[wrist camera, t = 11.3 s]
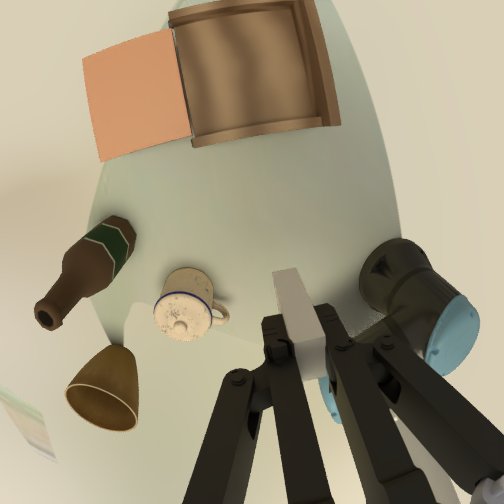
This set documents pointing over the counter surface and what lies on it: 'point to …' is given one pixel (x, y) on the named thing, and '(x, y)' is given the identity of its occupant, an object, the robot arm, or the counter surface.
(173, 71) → the orange rectangular slab
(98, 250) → the beer bottle
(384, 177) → the counter surface
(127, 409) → the plant pot
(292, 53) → the tray
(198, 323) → the teacup with lid
